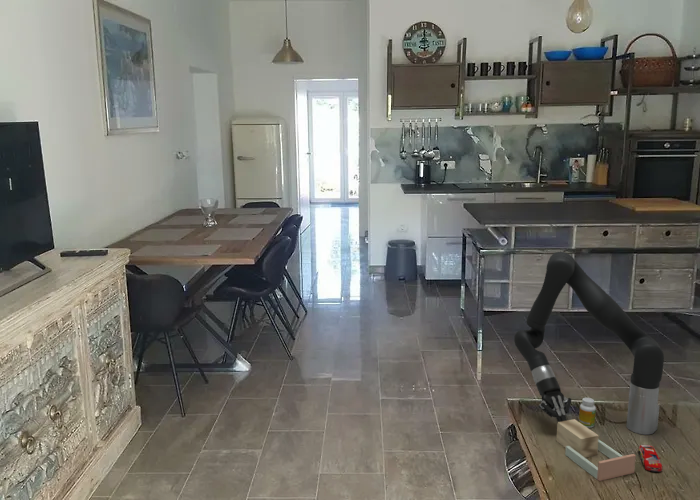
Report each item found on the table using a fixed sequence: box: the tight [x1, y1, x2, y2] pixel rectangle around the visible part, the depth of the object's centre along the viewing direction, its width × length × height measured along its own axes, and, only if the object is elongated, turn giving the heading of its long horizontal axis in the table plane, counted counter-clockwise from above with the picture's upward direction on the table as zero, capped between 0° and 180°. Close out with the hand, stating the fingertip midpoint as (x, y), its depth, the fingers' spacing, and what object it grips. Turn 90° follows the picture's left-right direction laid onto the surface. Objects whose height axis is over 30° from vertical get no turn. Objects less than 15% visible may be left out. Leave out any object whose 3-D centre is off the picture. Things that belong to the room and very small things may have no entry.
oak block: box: [556, 418, 600, 458], centre depth 202 cm, size 7×12×7 cm, turn 18°
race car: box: [637, 444, 663, 473], centre depth 193 cm, size 13×5×4 cm, turn 164°
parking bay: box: [564, 439, 637, 482], centre depth 192 cm, size 13×16×6 cm
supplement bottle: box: [578, 397, 597, 429], centre depth 217 cm, size 5×5×10 cm
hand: (565, 427), depth 208 cm, fingers closed
